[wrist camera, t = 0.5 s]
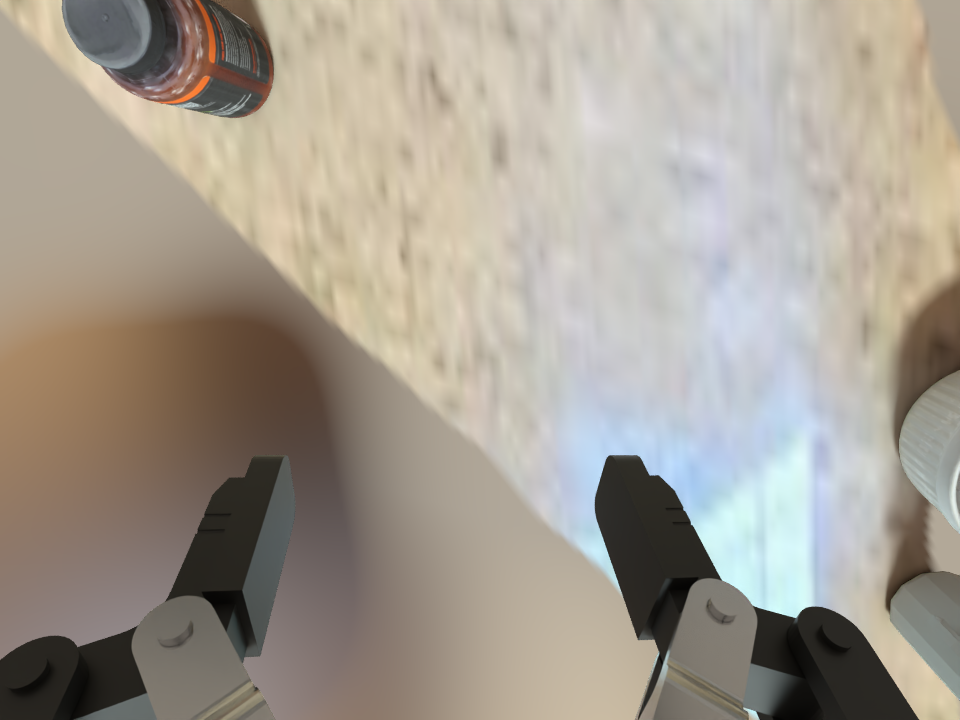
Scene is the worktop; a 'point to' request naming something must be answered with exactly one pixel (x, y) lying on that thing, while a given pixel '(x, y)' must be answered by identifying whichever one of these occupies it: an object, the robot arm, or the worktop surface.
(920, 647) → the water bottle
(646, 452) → the worktop surface
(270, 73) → the supplement bottle
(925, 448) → the ramekin
